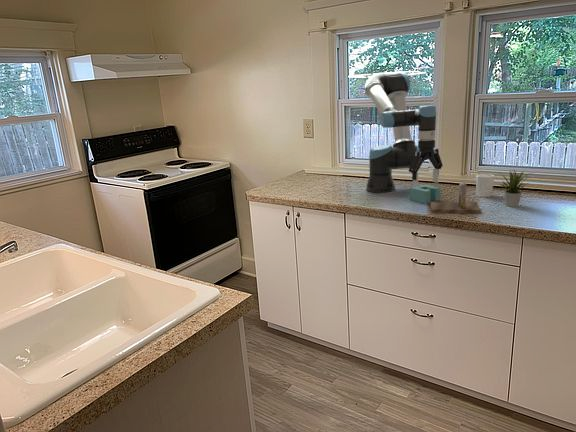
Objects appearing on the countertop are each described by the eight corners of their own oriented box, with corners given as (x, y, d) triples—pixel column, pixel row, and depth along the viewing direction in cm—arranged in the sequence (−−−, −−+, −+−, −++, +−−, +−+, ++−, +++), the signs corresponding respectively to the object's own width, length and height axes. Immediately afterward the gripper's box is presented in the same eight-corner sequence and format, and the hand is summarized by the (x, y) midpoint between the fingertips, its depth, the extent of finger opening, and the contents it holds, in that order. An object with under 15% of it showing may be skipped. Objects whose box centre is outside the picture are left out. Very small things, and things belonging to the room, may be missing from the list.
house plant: (540, 207, 188) (545, 170, 183) (514, 211, 185) (518, 174, 180) (515, 200, 201) (518, 165, 197) (490, 204, 198) (493, 168, 193)
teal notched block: (409, 199, 213) (409, 187, 211) (424, 196, 217) (424, 184, 216) (425, 203, 204) (425, 191, 203) (440, 199, 209) (440, 187, 207)
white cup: (494, 197, 208) (496, 177, 205) (476, 197, 209) (478, 177, 206) (490, 193, 215) (492, 173, 212) (473, 193, 217) (474, 173, 214)
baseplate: (431, 212, 190) (432, 187, 187) (429, 204, 203) (430, 180, 199) (480, 213, 185) (482, 187, 182) (476, 205, 197) (477, 180, 194)
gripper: (413, 143, 193) (412, 189, 199) (451, 137, 205) (449, 181, 211) (401, 142, 200) (400, 187, 205) (438, 136, 211) (437, 179, 217)
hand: (425, 184), depth 208 cm, fingers open, 13 cm apart
